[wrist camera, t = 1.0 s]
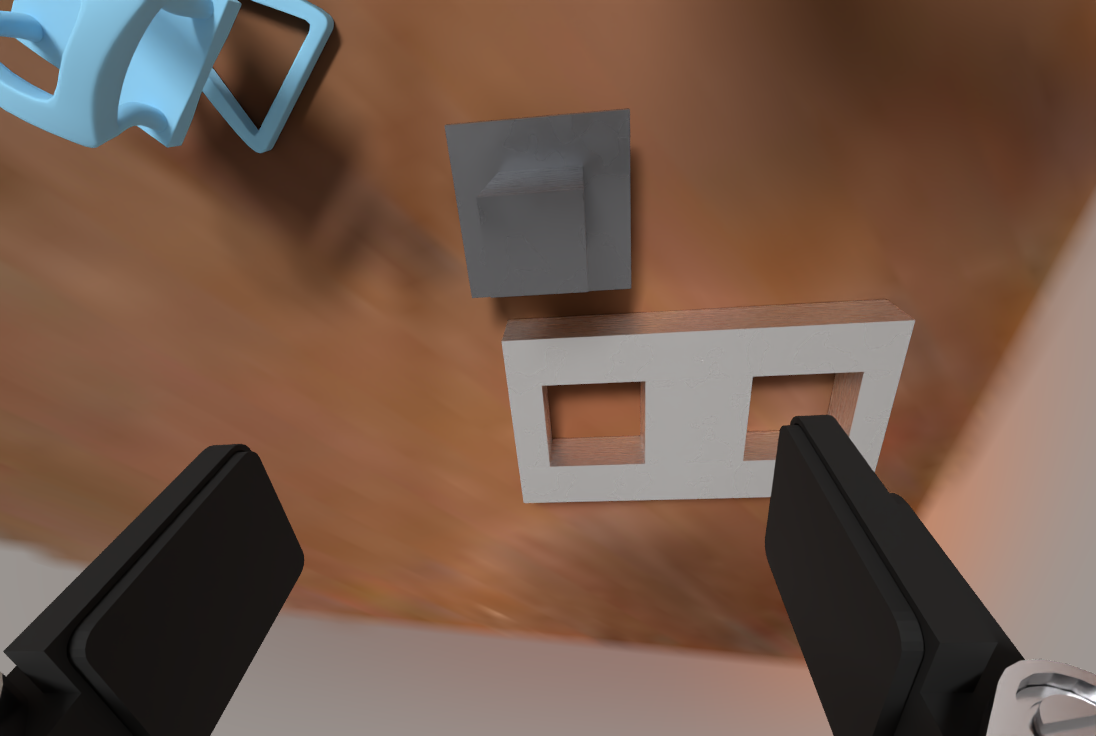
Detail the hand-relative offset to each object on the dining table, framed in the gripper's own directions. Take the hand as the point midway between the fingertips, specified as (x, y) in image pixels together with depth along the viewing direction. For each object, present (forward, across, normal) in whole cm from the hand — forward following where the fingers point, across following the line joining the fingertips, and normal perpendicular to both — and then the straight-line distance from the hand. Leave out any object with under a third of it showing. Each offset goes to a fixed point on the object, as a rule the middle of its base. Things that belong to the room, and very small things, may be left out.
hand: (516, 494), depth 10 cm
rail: (+22, -7, +12) cm, 26 cm away
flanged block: (+22, +1, -1) cm, 23 cm away
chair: (+23, +16, -10) cm, 29 cm away
